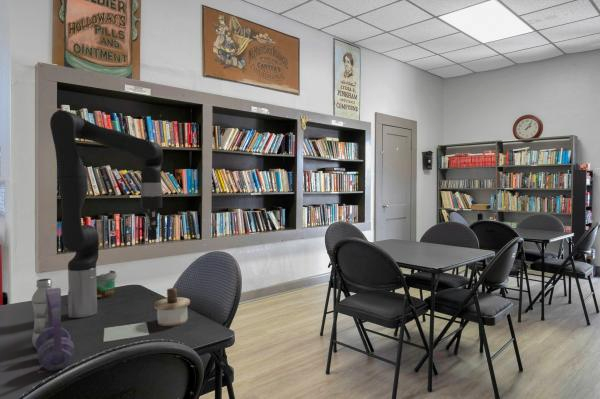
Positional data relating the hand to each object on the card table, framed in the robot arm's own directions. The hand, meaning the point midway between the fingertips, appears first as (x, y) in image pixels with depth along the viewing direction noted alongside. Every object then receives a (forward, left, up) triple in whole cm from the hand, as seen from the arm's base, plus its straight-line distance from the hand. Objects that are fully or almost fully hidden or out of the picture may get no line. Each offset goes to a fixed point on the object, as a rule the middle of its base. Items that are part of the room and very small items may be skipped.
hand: (152, 238), depth 150 cm
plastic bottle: (-32, -20, -28) cm, 47 cm away
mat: (-10, -18, -28) cm, 35 cm away
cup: (+5, -14, -28) cm, 32 cm away
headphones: (-28, -34, -28) cm, 52 cm away
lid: (+5, -14, -22) cm, 27 cm away
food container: (-16, +34, -28) cm, 47 cm away
